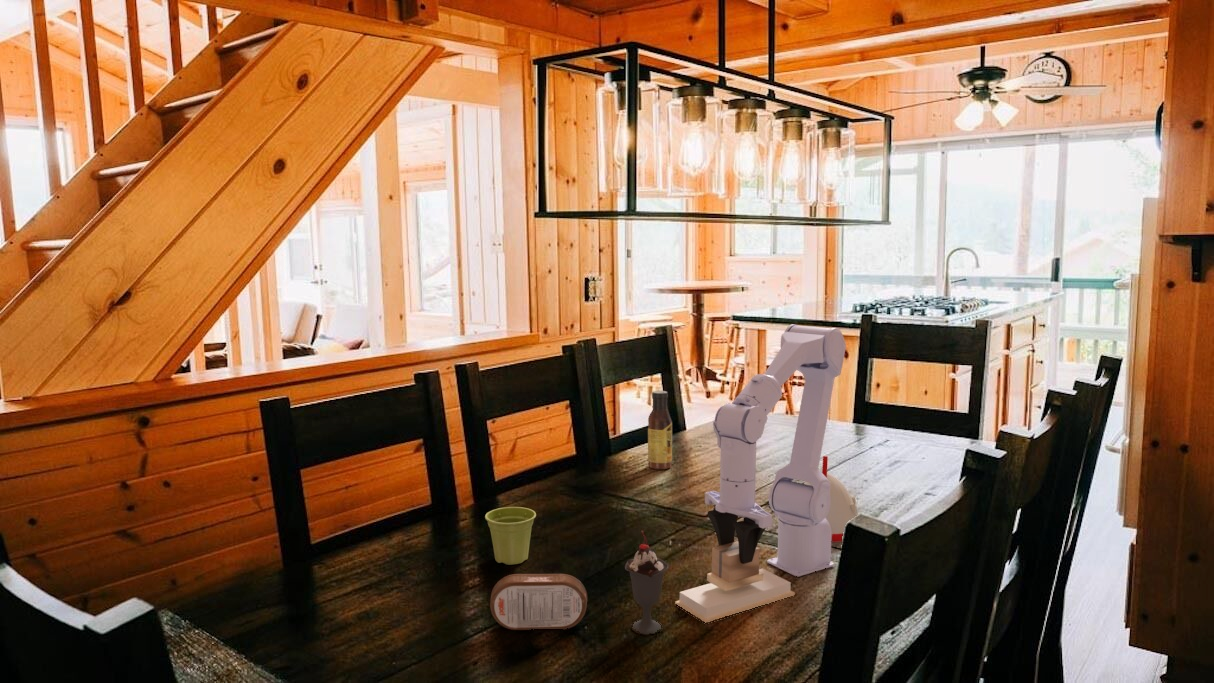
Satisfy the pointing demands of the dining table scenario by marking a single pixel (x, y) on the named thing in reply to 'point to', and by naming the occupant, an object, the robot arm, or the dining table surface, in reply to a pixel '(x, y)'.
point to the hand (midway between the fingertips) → (736, 557)
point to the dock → (733, 597)
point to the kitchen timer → (838, 504)
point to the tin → (538, 601)
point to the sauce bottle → (659, 433)
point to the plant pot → (510, 533)
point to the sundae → (646, 584)
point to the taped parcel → (733, 568)
